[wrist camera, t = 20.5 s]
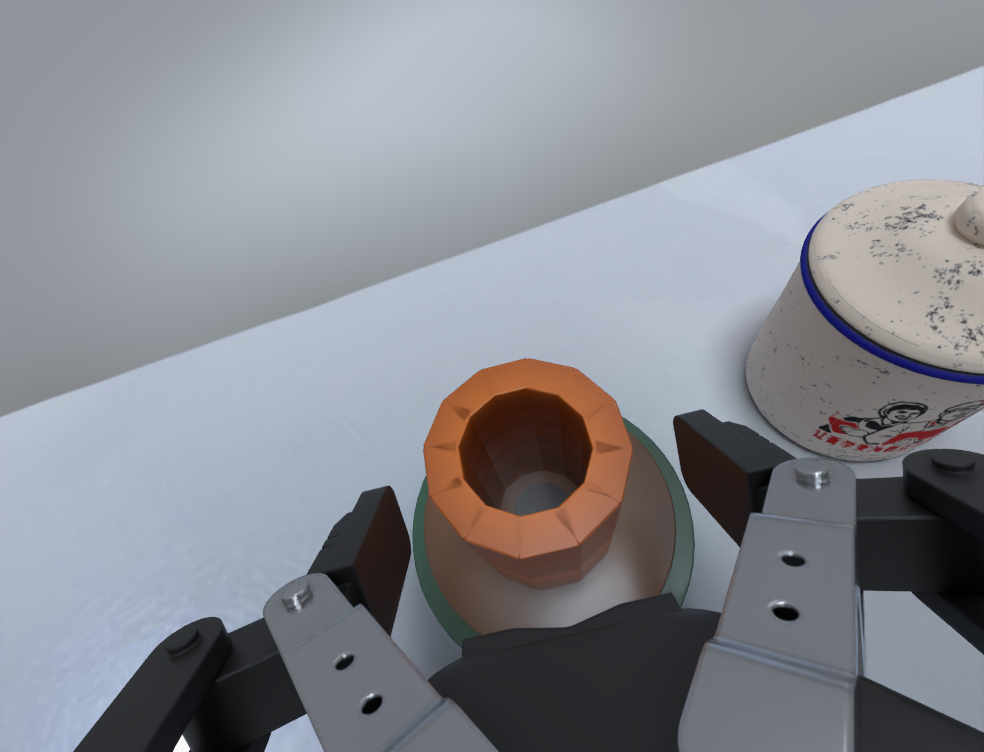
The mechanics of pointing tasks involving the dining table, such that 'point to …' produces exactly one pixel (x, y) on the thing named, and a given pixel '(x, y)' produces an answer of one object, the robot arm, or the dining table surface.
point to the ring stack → (614, 580)
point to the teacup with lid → (879, 324)
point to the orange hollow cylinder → (530, 468)
